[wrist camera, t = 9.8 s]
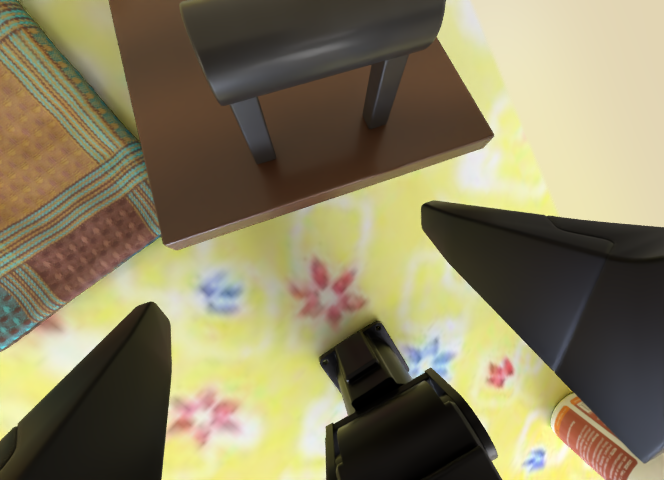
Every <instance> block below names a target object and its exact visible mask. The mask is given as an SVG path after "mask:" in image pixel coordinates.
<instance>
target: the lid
mask: <svg viewBox="0 0 664 480" xmlns="http://www.w3.org/2000/svg"><path fill="white" fill-rule="evenodd" d="M108 1H109V5H110V9H111V14H112V18H113V23H114V27H115V32H116V36H117V41H118V45H119V49H120V54H121V58H122V63H123V67H124V72H125V76H126V81H127V85H128V90H129V94H130V98H131V103H132V107H133V112H134V116H135V121H136V125H137V130H138V134H139V139H140V143H141V147H142V152H143V156H144V161H145V165H146V170H147V174H148V179H149V183H150V188H151V192H152V196H153V201H154V205H155V210H156V214H157V219H158V223H159V228H160V232H161V236H162V241H163V244H164V245H165V246H167V247H169V248H171V249H174V250H179V249H182V248H185V247H188V246H191V245H194V244H197V243H200V242H203V241H206V240H209V239H212V238H215V237H218V236H221V235H224V234H227V233H230V232H233V231H236V230H239V229H242V228H245V227H248V226H251V225H254V224H257V223H260V222H263V221H266V220H269V219H272V218H275V217H278V216H281V215H284V214H287V213H290V212H293V211H296V210H299V209H302V208H305V207H308V206H311V205H314V204H317V203H320V202H323V201H326V200H329V199H332V198H335V197H338V196H341V195H344V194H347V193H350V192H353V191H356V190H359V189H362V188H365V187H368V186H371V185H374V184H377V183H380V182H383V181H386V180H389V179H392V178H395V177H398V176H401V175H404V174H407V173H410V172H413V171H416V170H419V169H422V168H425V167H428V166H431V165H434V164H437V163H440V162H443V161H446V160H449V159H452V158H455V157H458V156H461V155H464V154H467V153H470V152H473V151H476V150H479V149H482V148H483V147H485V145H486V144H487V143H488V142H489V141H490V140H491V139H492V138H493V137H494V133H493V132H492V130H491V128H490V127H489V125H488V123H487V121H486V120H485V118H484V116H483V115H482V113H481V111H480V110H479V108H478V106H477V105H476V103H475V101H474V99H473V98H472V96H471V94H470V93H469V91H468V89H467V88H466V86H465V84H464V83H463V81H462V79H461V78H460V76H459V74H458V72H457V71H456V69H455V67H454V66H453V64H452V62H451V61H450V59H449V57H448V56H447V54H446V52H445V50H444V49H443V47H442V45H441V44H440V42H439V40H438V39H437V35H438V33H439V30H440V27H441V24H442V21H443V16H444V11H445V2H446V0H108Z"/></svg>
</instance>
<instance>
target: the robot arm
mask: <svg viewBox="0 0 664 480" xmlns="http://www.w3.org/2000/svg"><path fill="white" fill-rule="evenodd" d="M421 225H422V229H423V231H424V232H425V233H426V235H427V236H428V237H429V239H430V240H431V241H432V242H433V244H434V245H435V246H436V248H437V249H438V250H439V252H440V253H441V254H442V255H443V257H444V258H445V259H446V260H447V262H448V263H449V264H450V265H451V266H452V267H453V268H454V269H455V270H456V271H457V272H458V273H459V274H460V275H461V276H462V277H463V278H464V279H465V280H466V281H467V282H468V284H469V285H470V286H471V287H472V288H473V289H474V290H475V291H476V292H477V293H478V294H479V295H480V296H481V297H482V298H483V299H484V300H485V301H486V302H487V303H488V304H489V305H490V306H491V307H492V308H493V309H494V310H495V311H496V312H497V313H498V315H499V316H500V317H501V318H502V319H503V320H504V321H505V322H506V323H507V324H508V325H509V326H510V327H511V328H512V329H513V330H514V331H515V332H516V333H517V334H518V335H519V336H520V337H521V338H522V339H523V340H524V341H525V342H526V343H527V344H528V346H529V347H530V348H531V349H532V350H533V351H534V352H535V353H536V354H537V355H538V356H539V357H540V358H541V359H542V360H543V361H544V362H545V363H546V364H547V365H548V366H549V367H550V368H551V369H552V370H553V371H555V374H556V375H557V376H558V377H559V378H560V379H561V380H562V381H563V382H564V383H565V384H566V385H567V386H568V387H569V388H570V389H571V390H572V391H573V392H574V393H575V394H576V395H577V396H578V397H579V398H580V400H581V401H582V402H583V403H584V404H585V405H586V406H587V407H588V408H589V409H590V410H591V411H592V412H593V413H594V414H595V415H596V416H597V417H598V418H599V419H600V420H601V421H602V422H603V423H604V424H605V425H606V426H607V427H608V428H609V429H610V430H611V432H612V433H613V434H614V435H615V436H616V437H617V438H618V439H619V440H620V441H621V442H622V443H623V444H624V445H625V446H626V447H627V448H628V449H629V450H630V451H631V452H632V453H633V454H634V455H635V456H636V457H637V458H638V459H639V460H640V461H641V462H643V463H644V464H646V463H648V462H649V461H651V460H652V459H654V458H656V457H657V456H659V455H661V454H662V453H664V227H653V226H641V225H631V224H619V223H608V222H597V221H588V220H578V219H571V218H562V217H555V216H545V215H539V214H532V213H524V212H517V211H509V210H502V209H494V208H487V207H479V206H471V205H464V204H456V203H449V202H441V201H430V202H427V203H424V204H423V205H422V207H421ZM376 326H379V327H378V328H376ZM324 360H327V361H326V362H323V361H324ZM319 362H320V365H321V366H322V368H323V369H324V371H325V372H326V373H327V375H328V376H329V377H330V379H331V380H332V381H333V383H334V384H335V386H336V387H337V388H338V390H339V391H340V392H341V394H342V397H343V400H344V403H345V407H346V410H347V413H348V416H347V417H345V418H344V419H342V420H340V421H338V422H336V423H335V424H333V423H331V424H330V425H328V426H326V438H325V444H326V480H502V478H501V477H500V475H499V473H498V472H497V470H496V468H495V466H494V465H493V463H492V460H494V459H496V458H497V457H498V455H497V451H496V449H495V447H494V444H493V442H492V441H491V439H490V437H489V435H488V433H487V432H486V430H485V428H484V427H483V425H482V424H481V422H480V421H479V419H478V418H477V416H476V415H475V413H474V412H473V410H472V409H471V408H470V406H469V405H468V404H467V402H466V401H465V400H464V399H463V398H462V396H461V395H460V394H459V393H458V392H457V391H456V390H454V389H453V388H452V387H451V386H450V385H449V384H448V383H447V382H446V381H445V380H444V379H443V378H442V377H441V376H440V375H438V374H437V373H436V372H435V371H434V370H433V369H432V368H429V369H427V370H426V371H425V373H424V374H422V375H420V376H418V377H416V378H415V379H412V378H411V376H410V375H409V373H408V372H409V368H408V366H407V364H406V363H405V361H404V359H403V358H402V356H401V354H400V353H399V351H398V349H397V348H396V346H395V344H394V343H393V341H392V339H391V338H390V336H389V334H388V333H387V331H386V329H385V328H384V326H383V325H382V323H381V322H380V321H375V322H373V323H371V324H370V325H368V326H367V327H365V328H364V329H362V330H361V331H358V332H357V333H355V334H353V335H352V336H350V337H349V338H347V339H346V340H344V341H343V342H341V343H339V344H338V345H336V347H334V348H333V349H331V350H330V351H328V352H326V353H325V354H323V355H322V356H321V357H320V359H319ZM171 373H172V357H171V325H170V322H169V319H168V318H167V317H166V315H165V314H164V313H163V312H162V311H161V309H160V308H159V307H158V306H157V304H156V303H154V302H147V303H145V304H142V305H139V306H137V307H136V308H135V309H134V310H133V311H132V312H131V313H130V314H129V315H128V316H127V317H125V318H124V319H123V320H122V321H121V322H120V323H119V324H118V325H117V326H116V327H115V328H114V329H113V330H112V331H111V332H110V333H109V334H108V335H107V336H106V337H105V338H104V339H103V340H102V341H101V342H100V343H99V344H98V345H97V346H96V347H95V348H94V349H93V350H92V351H91V352H90V353H89V354H88V355H87V356H86V357H85V358H84V359H83V360H82V361H81V362H80V363H79V364H78V365H77V366H76V367H75V368H74V369H73V370H72V371H71V372H70V373H69V374H68V375H67V376H66V377H65V378H64V379H63V380H62V381H61V382H59V383H58V384H57V385H56V386H55V387H54V388H53V389H52V390H51V391H50V392H49V393H48V394H47V395H46V396H45V397H44V398H43V399H42V400H41V401H40V402H39V403H38V404H37V405H36V406H35V407H34V408H33V409H32V410H31V411H30V412H29V413H28V414H27V415H26V416H25V417H24V418H23V419H22V420H21V421H20V422H19V423H18V426H17V427H14V428H13V429H12V430H11V431H10V432H9V433H8V434H7V435H6V436H5V437H4V438H3V439H2V440H1V441H0V480H161V478H162V468H163V457H164V447H165V437H166V427H167V416H168V406H169V396H170V386H171Z"/></svg>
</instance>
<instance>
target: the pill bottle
mask: <svg viewBox="0 0 664 480" xmlns="http://www.w3.org/2000/svg"><path fill="white" fill-rule="evenodd" d="M551 427H552V430H553V431H554V433H555V434H556V435H557V436H558V437H559V438H560V439H561V440H562V441H563V442H564V443H565V444H567V445H568V446H569V447H570V448H571V449H572V450H573V451H574V452H575V453H576V454H577V455H579V456H580V457H581V458H582V459H583V460H584V461H585V462H586V463H587V464H588V465H590V466H591V467H592V468H593V469H594V470H595V471H596V472H597V473H598V474H599V475H601V476H602V477H603V478H604V479H605V480H664V453H662V454H661V455H659V456H657V457H656V458H654V459H652V460H651V461H649V462H648V463H646V464H644V463H643V462H641V461H640V460H639V459H638V458H637V457H636V456H635V455H634V454H633V453H632V452H631V451H630V450H629V449H628V448H627V447H626V446H625V445H624V444H623V443H622V442H621V441H620V440H619V439H618V438H617V437H616V436H615V435H614V434H613V433H612V432H611V430H610V429H609V428H608V427H607V426H606V425H605V424H604V423H603V422H602V421H601V420H600V419H599V418H598V417H597V416H596V415H595V414H594V413H593V412H592V411H591V410H590V409H589V408H588V407H587V406H586V405H585V404H584V403H583V402H582V401H581V400H580V398H579V397H578V396H577V395H576V394H575V393H573V394H570V395H568V396H566V397H565V398H564V399H562V400H561V401H560V402H559V404H558V405H557V406H556V408H555V409H554V411H553V414H552V417H551Z"/></svg>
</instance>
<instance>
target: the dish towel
mask: <svg viewBox="0 0 664 480" xmlns="http://www.w3.org/2000/svg"><path fill="white" fill-rule="evenodd" d="M159 237H161V232H160V228H159V223H158V219H157V214H156V210H155V205H154V201H153V196H152V192H151V188H150V183H149V179H148V174H147V170H146V165H145V161H144V156H143V152H142V147H141V144H140V142H139V141H138V140H137V139H136V138H135V137H134V136H133V135H132V134H131V133H130V132H129V131H128V130H127V129H126V127H125V126H124V125H123V124H122V123H121V122H120V121H119V120H118V118H117V117H116V116H115V115H114V114H113V113H112V111H111V110H110V109H109V108H108V107H107V106H106V104H105V103H104V102H103V101H102V100H101V98H100V97H99V96H98V95H97V94H96V92H95V91H94V89H93V88H92V87H91V86H90V85H89V84H88V83H87V82H86V81H85V80H84V79H83V77H82V76H81V75H80V73H79V72H78V71H77V70H76V69H74V68H73V66H72V65H71V64H70V63H69V62H68V61H67V59H66V58H65V57H64V56H63V55H62V54H61V53H60V52H59V51H58V50H57V49H56V47H55V46H54V45H53V43H52V42H51V41H50V40H49V39H48V38H47V36H46V35H45V33H44V32H43V31H42V30H41V28H40V27H39V26H38V25H37V24H36V22H35V21H34V20H33V19H32V18H31V17H30V16H29V15H28V13H27V12H26V11H25V10H24V8H23V7H22V6H21V5H20V4H19V2H18V1H17V0H0V352H1V351H3V350H5V349H7V348H9V347H10V346H11V345H13V344H14V343H16V342H17V341H19V340H20V339H21V338H22V337H23V336H25V335H27V334H28V333H30V332H31V331H32V330H33V329H35V328H36V327H37V326H39V325H40V324H41V323H42V322H43V321H45V320H46V319H47V318H49V317H50V316H52V315H53V314H54V313H55V312H57V311H58V310H59V309H60V308H62V307H63V306H64V305H65V304H67V303H68V302H70V301H71V300H72V299H74V298H75V297H76V296H78V295H80V294H81V293H82V292H84V291H85V290H86V289H88V288H90V287H91V286H92V285H94V284H95V283H96V282H98V281H99V280H100V279H102V278H104V277H105V276H107V275H108V274H109V273H111V272H112V271H113V270H115V269H116V268H117V267H119V266H120V265H121V264H123V263H124V262H126V261H127V260H128V259H129V258H131V257H132V256H133V255H135V254H136V253H138V252H140V251H141V250H142V249H144V248H145V247H146V246H148V245H150V244H151V243H153V242H154V241H155V240H156V239H158V238H159Z"/></svg>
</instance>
